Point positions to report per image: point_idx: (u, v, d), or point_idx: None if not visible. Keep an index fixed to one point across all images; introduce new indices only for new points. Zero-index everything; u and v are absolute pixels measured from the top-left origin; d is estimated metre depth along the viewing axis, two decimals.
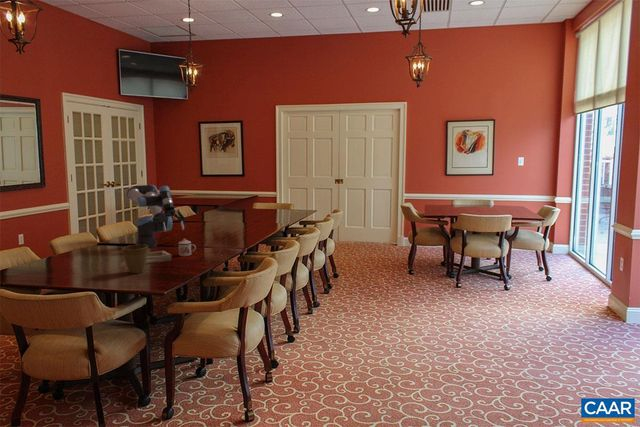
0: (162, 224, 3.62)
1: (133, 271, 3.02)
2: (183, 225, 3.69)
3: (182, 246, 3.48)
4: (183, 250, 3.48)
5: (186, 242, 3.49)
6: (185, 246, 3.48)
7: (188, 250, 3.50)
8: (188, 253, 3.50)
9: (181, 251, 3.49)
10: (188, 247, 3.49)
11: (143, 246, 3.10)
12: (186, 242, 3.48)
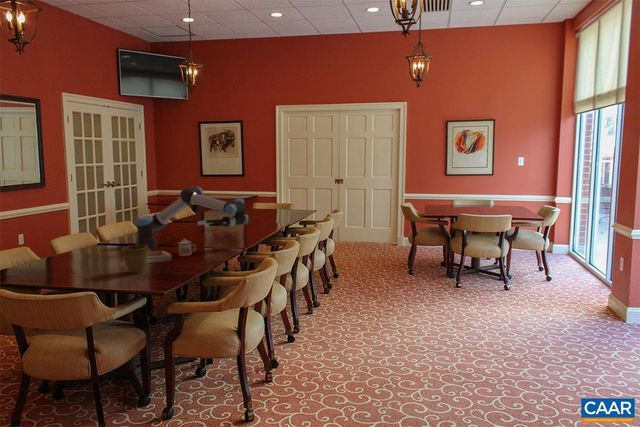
0: (212, 225, 3.53)
1: (133, 271, 3.02)
2: (200, 224, 3.64)
3: (182, 246, 3.48)
4: (183, 250, 3.48)
5: (186, 242, 3.49)
6: (185, 246, 3.48)
7: (188, 250, 3.50)
8: (188, 253, 3.50)
9: (181, 251, 3.49)
10: (188, 247, 3.49)
11: (143, 246, 3.10)
12: (186, 242, 3.48)
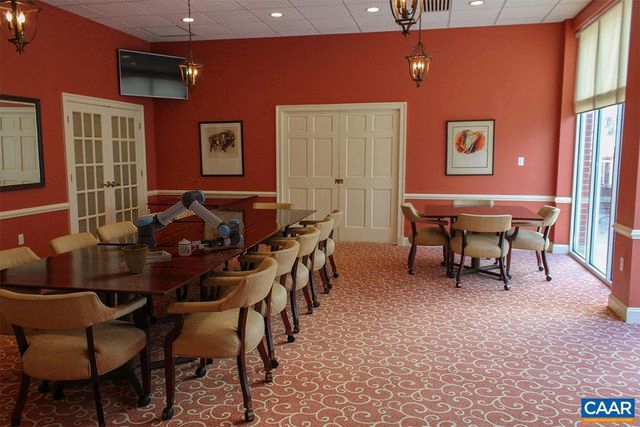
0: (206, 246, 3.52)
1: (133, 271, 3.02)
2: (195, 244, 3.63)
3: (182, 246, 3.48)
4: (183, 250, 3.48)
5: (186, 242, 3.49)
6: (185, 246, 3.48)
7: (188, 250, 3.50)
8: (188, 253, 3.50)
9: (181, 251, 3.49)
10: (188, 247, 3.49)
11: (143, 246, 3.10)
12: (186, 242, 3.48)
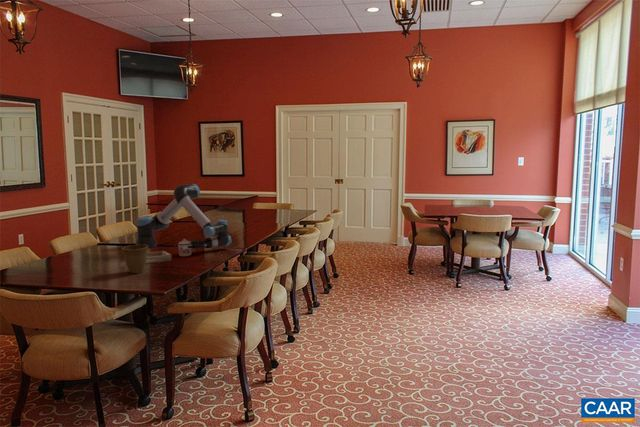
0: (190, 247, 3.48)
1: (133, 271, 3.02)
2: None
3: (182, 246, 3.47)
4: (183, 250, 3.48)
5: (186, 242, 3.49)
6: None
7: (188, 250, 3.49)
8: (188, 253, 3.49)
9: (181, 251, 3.48)
10: None
11: (143, 246, 3.10)
12: (186, 243, 3.48)
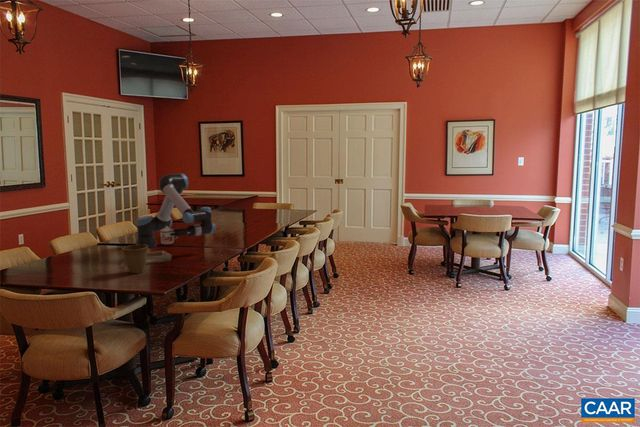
0: None
1: (133, 271, 3.02)
2: None
3: (164, 234, 3.35)
4: (166, 238, 3.36)
5: (168, 229, 3.37)
6: None
7: (171, 238, 3.37)
8: (171, 241, 3.38)
9: (163, 239, 3.36)
10: None
11: (143, 246, 3.10)
12: (168, 230, 3.36)
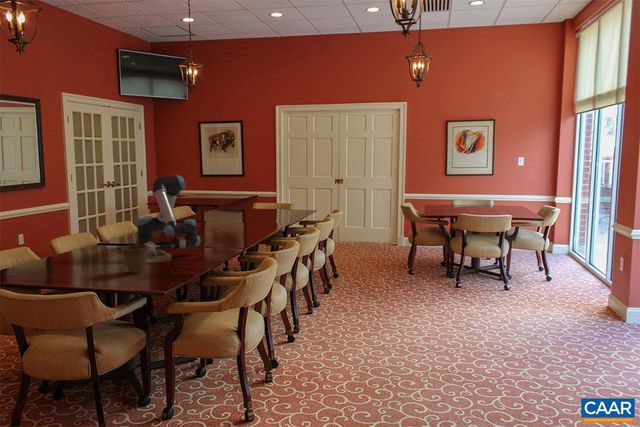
0: (158, 249, 3.31)
1: (133, 271, 3.02)
2: None
3: None
4: (148, 254, 3.31)
5: (151, 245, 3.32)
6: None
7: (153, 253, 3.33)
8: None
9: None
10: None
11: (143, 246, 3.10)
12: (151, 245, 3.32)
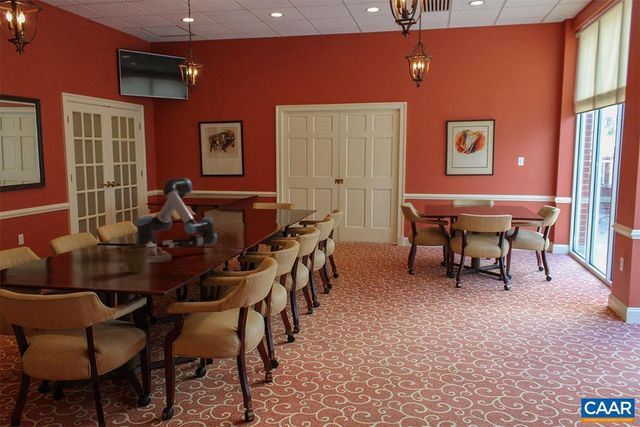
0: (177, 246, 3.38)
1: (133, 271, 3.02)
2: (166, 244, 3.49)
3: None
4: (148, 253, 3.31)
5: (151, 245, 3.32)
6: (150, 249, 3.31)
7: (154, 253, 3.33)
8: None
9: None
10: (154, 250, 3.33)
11: (143, 246, 3.10)
12: (151, 245, 3.32)
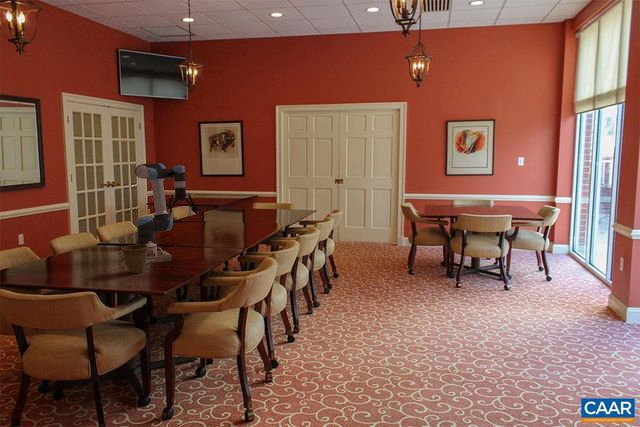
0: (170, 210, 3.50)
1: (133, 271, 3.02)
2: (191, 212, 3.58)
3: None
4: (148, 254, 3.31)
5: (151, 245, 3.32)
6: (150, 249, 3.31)
7: (154, 253, 3.33)
8: None
9: None
10: (153, 250, 3.33)
11: (143, 246, 3.10)
12: (151, 245, 3.32)
